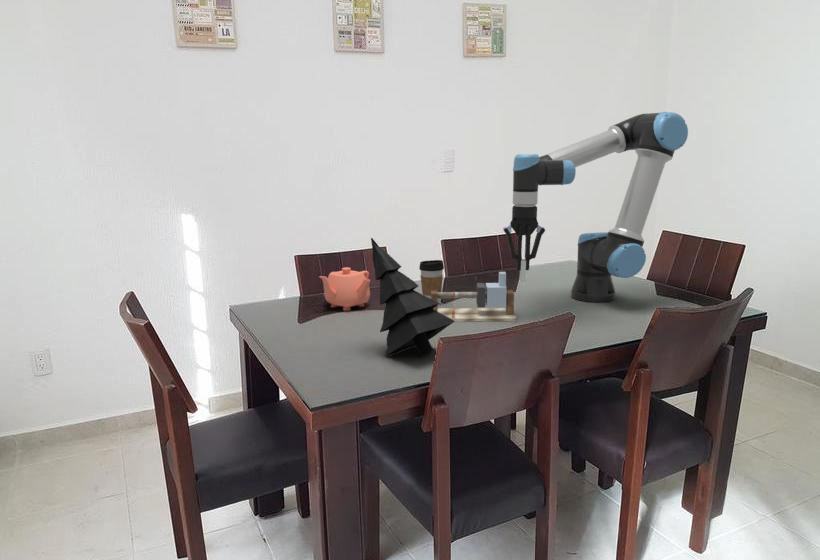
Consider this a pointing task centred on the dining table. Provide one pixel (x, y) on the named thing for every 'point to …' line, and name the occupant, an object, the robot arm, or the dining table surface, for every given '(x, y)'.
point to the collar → (481, 295)
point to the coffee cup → (431, 277)
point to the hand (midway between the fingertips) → (522, 280)
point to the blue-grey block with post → (496, 292)
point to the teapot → (347, 288)
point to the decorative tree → (405, 308)
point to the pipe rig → (476, 313)
